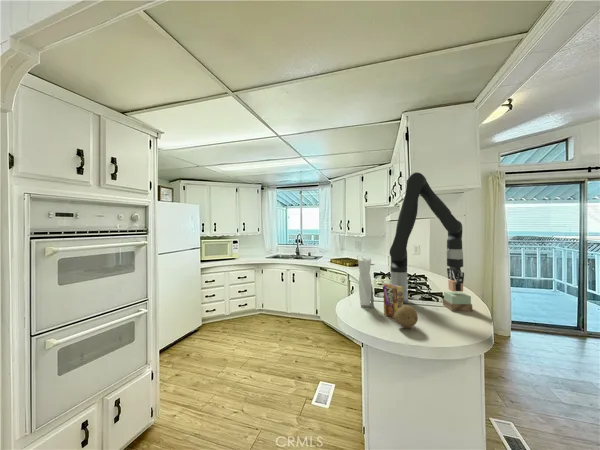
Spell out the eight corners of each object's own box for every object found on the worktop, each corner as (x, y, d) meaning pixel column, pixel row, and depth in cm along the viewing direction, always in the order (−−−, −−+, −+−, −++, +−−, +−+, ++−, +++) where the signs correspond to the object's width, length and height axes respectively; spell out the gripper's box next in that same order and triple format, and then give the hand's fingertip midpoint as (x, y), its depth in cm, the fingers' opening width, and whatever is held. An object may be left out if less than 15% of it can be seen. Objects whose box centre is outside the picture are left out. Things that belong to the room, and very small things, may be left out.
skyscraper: (358, 307, 140) (357, 256, 140) (357, 302, 148) (356, 254, 148) (374, 307, 138) (373, 256, 138) (372, 303, 146) (371, 254, 146)
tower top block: (452, 304, 130) (452, 296, 130) (444, 299, 139) (444, 291, 139) (470, 304, 130) (470, 296, 130) (461, 299, 139) (461, 291, 139)
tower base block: (451, 312, 130) (451, 304, 130) (442, 305, 140) (442, 298, 140) (472, 312, 129) (472, 304, 129) (462, 306, 139) (462, 298, 139)
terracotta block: (453, 291, 133) (452, 281, 133) (448, 289, 138) (448, 279, 138) (463, 291, 132) (463, 281, 132) (458, 289, 137) (458, 279, 137)
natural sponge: (421, 333, 105) (421, 309, 105) (399, 333, 106) (398, 309, 106) (414, 324, 114) (413, 302, 114) (393, 324, 115) (393, 302, 115)
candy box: (404, 318, 122) (403, 286, 122) (397, 320, 120) (396, 287, 120) (389, 312, 130) (389, 283, 130) (383, 314, 128) (382, 284, 128)
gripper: (441, 255, 142) (442, 286, 142) (453, 259, 128) (454, 293, 128) (455, 255, 141) (456, 286, 141) (469, 259, 127) (470, 293, 127)
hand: (455, 289), depth 135 cm, fingers closed on terracotta block, 5 cm apart
